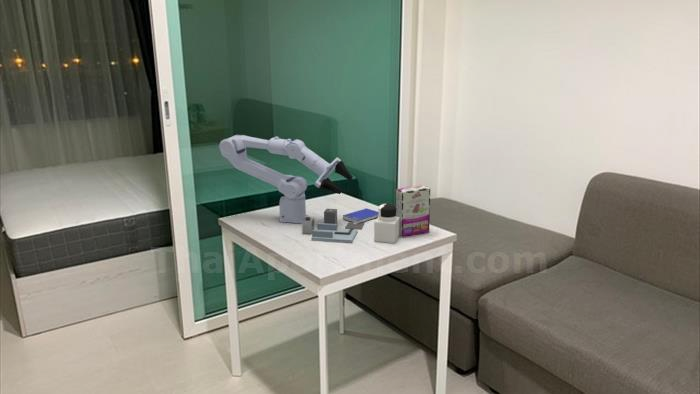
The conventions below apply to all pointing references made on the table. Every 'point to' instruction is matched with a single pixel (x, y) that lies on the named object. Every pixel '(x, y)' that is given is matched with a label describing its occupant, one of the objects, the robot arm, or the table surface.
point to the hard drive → (361, 215)
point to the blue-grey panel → (333, 233)
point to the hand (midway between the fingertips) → (346, 185)
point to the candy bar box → (413, 210)
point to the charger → (330, 216)
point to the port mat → (354, 225)
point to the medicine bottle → (386, 224)
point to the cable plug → (307, 225)
